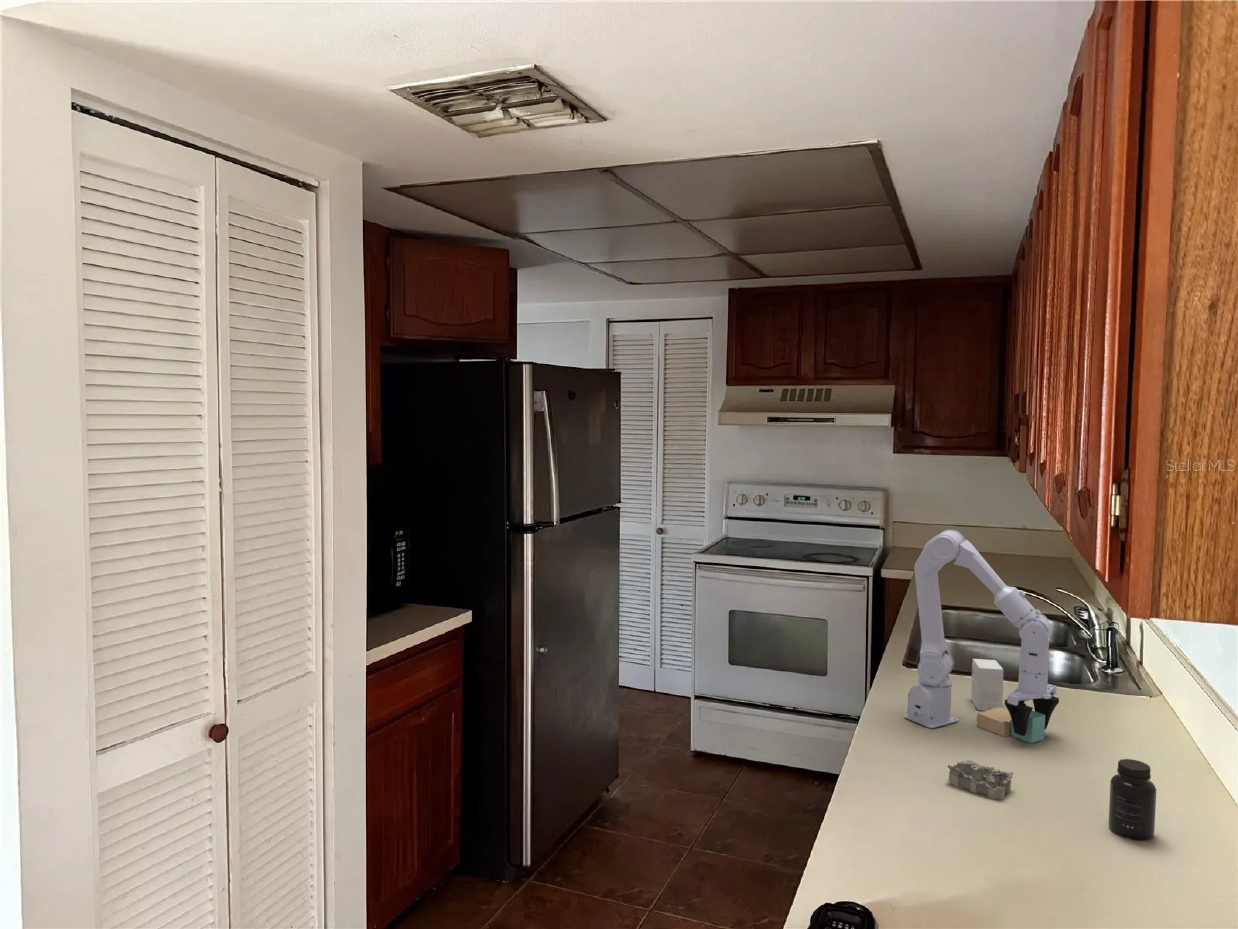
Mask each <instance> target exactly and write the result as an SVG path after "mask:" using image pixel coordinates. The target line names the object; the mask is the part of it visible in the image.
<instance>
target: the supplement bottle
mask: <svg viewBox="0 0 1238 929" xmlns="http://www.w3.org/2000/svg"><path fill="white" fill-rule="evenodd" d="M1117 762H1118V763H1117V769H1116V770H1117V771H1116V772H1117V773H1116V774H1114V775H1113V776H1112V777H1111V779H1110V781H1109V782H1110V786H1109V803H1108V804H1109V805H1108V826H1109V829H1110V830H1111V831H1112V832H1113V833H1114V834H1116V835H1118V836H1120V837H1122V838H1126V839H1128V838H1129V840H1133V841H1148V840H1151V839H1153V837H1154V835H1155V827H1156V807H1157V788H1156V786H1155V783H1153V781H1151V778H1152V774H1151V766H1150V765H1149V764H1147V763H1145V762H1143V761H1140V760H1136V759H1131V758H1124V759H1120V760H1118V761H1117Z"/></svg>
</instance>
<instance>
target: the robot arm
mask: <svg viewBox="0 0 1238 929" xmlns="http://www.w3.org/2000/svg"><path fill="white" fill-rule="evenodd" d="M953 560H955V561H954V563H953V565H954V566H959V567H964V568H966V569H969V570H970V571H971V573H972V574H974V576H975V577H976V578H978V580H979V581H981V583H982V584H983V585H984V586H985V587H986V588H987V589H988V590H989V591H990V592H991V593H992V594H993V596H994V601H993V603H994V605H995V606H996V607H997V608H998V610H1000V611H1001V613H1002V614H1003V615H1004V616H1005V617H1006V618H1007V619H1008V621H1010V623H1011V624H1012V625H1013V626H1014V627H1016V628H1017V629H1019V630H1018V635H1019V638H1020V639H1021V645H1020V646H1021V647H1020V649H1019V661H1018V663H1019V665H1018V666H1019V668H1018V682H1017V684H1018V686H1017V687H1016V688H1015V689H1014V690H1013V691H1012V692H1011V693H1008V694H1007V698H1006V699H1004V706H1005V707H1006V708H1007V709H1006V710H1008V711H1009V713H1010V716H1011V719H1012V723H1013V728H1014V732H1015V733H1016V734H1018V735H1021V736H1025V734H1026V729H1027V722H1028V718H1029V715H1030V713H1031V711H1033V709H1034V711H1035V712H1038V713H1041V714H1044V715H1045V730H1047V728H1048V725H1049V722H1050V720H1051V719H1050V718H1051V717H1052V714H1053V712H1054V710H1055V709H1056V707H1057V705H1058V704H1059V703H1060V698H1059V697H1056V695H1057V689H1058V688H1057V685H1053V684H1052V683H1051V684H1050V683H1048V680H1049V660H1050V651H1049V648H1050V644H1049V639H1050V635H1051V633H1052V626H1051V622H1050V620H1049V619H1048V617H1047V616H1046V615H1044V614H1042V612H1041V610H1039V609H1038V608H1037V609H1036V608H1035V607H1034V606H1033V605H1032V604H1031V602H1029V600H1028V599H1027V598H1026V597H1025V596H1026V593H1025V592H1024V590H1022V589H1021V590H1020V589H1018V588H1017V587H1015V586H1009V585H1007V584H1006V583H1004V581H1003V580H1002V579H1001V578H1000V576H999V575H998V574H997V573H996V572H995V571H994V569H993V567H991V565H990V564H989V563H988V562H987V560H986V559H985V558H984V557H983V556H982V555H981V554H980V551H978V550H977V549H976V547H975V546H974V545H973V544H972V543H971V542H970V541H969V540H968V539H965V537H964V535H963V534H962V533H961V532H959V531H957V530H955V529H945V530H943V531H941V532H940V533H939V534H937V535H935V536H933V537H932V538H931V539H930V540H929V541H927V542H925V544H924V546H923V549H922V551H921V553H920V555H919V556H918V558H917V560H916V561H915V563H914V567H913V569H914V577H915V589H916V597H917V606H918V616H919V626H920V635H921V644H920V651H919V657H920V659H919V663H918V665H917V674H918V680H917V683H916V684H915V685H912V687H910V689H909V690H908V694H907V710H906V714H905V715H903V717H904V718H905V719H908V720H910V721H912V722H914V723H917V724H919V725H922V726H924V727H927V728H929V729H935V728H939V727H942V726H947V725H951V724H954V723H958V722H959V718H956V717H955V716H954V717H953V716H951V709H952V708H951V706H952V705H951V704H952V680H951V678H950V675H949V674H951V672H952V671H953V669H954V664H955V663H954V659H953V657H952V655H951V654H950V652H949V648H948V643H947V642H946V639H945V631H944V623H943V612H942V611H943V610H942V603H941V592H940V584H939V573H938V572H939V571H940V570H941V569H942V568H943V567H944V566H945V565H946V564H947V563H949V562H951V561H953ZM1026 701H1032V703H1033V707H1032V706H1029V705H1027V704H1026V703H1025V702H1026Z"/></svg>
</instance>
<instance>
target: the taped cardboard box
mask: <svg viewBox="0 0 1238 929" xmlns="http://www.w3.org/2000/svg"><path fill="white" fill-rule="evenodd" d="M1011 723H1012V719H1011V716H1010V713H1009V711H1008V709H1005V708H1003V707H1002V708H1000V707H999V708H995V709H991V710H988V711H981V712H977V714H976V727H978V728H980V729H983V730H985V731H989V732H991V733H993V734H996V735H999V736H1000V737H1007V736H1008V737H1009V736H1011Z"/></svg>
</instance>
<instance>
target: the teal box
mask: <svg viewBox="0 0 1238 929" xmlns="http://www.w3.org/2000/svg"><path fill="white" fill-rule="evenodd" d="M1045 730H1046V729H1045V715H1044V714H1041V713H1038V712H1035V710H1032V711H1031V713H1030V715H1029V718H1028V722H1027V729H1026V734H1025V736H1021V735H1018V734H1016V733H1015V732H1014V728H1013V723H1011V735H1010V736H1012V737H1014V738H1017V739H1018V740H1021V741H1024V742H1026V743H1027V742H1028V743H1031V744H1034V743H1037V742H1039V741H1044V740H1045Z"/></svg>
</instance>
